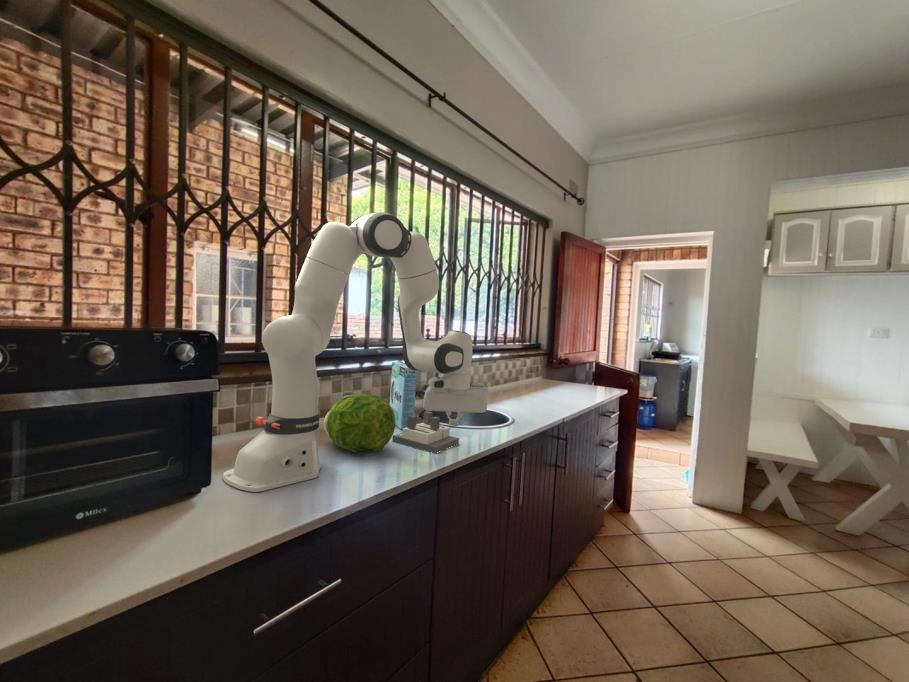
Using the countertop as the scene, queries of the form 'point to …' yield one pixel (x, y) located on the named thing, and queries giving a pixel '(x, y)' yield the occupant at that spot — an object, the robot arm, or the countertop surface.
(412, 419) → the breaker
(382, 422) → the lettuce
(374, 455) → the countertop surface
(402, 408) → the gum box
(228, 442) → the countertop surface
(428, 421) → the breaker
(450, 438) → the breaker panel
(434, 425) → the block
